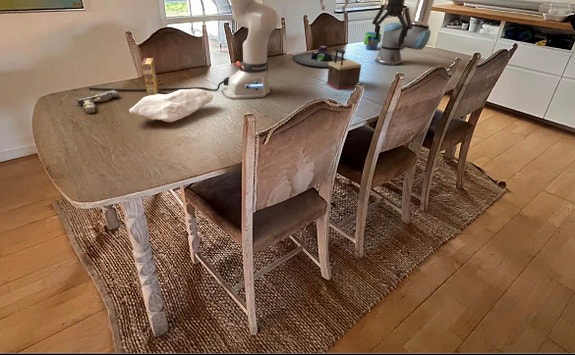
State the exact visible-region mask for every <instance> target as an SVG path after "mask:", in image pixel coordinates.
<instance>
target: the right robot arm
mask: <svg viewBox="0 0 575 355" xmlns="http://www.w3.org/2000/svg"><path fill="white" fill-rule="evenodd" d="M434 1H435V0H417V2H416V6H415V10H414V13H413V17H412V19H411V16H410V7H404V4H405V0H387V5H386V4H381V5H380V8H379V10H378V12H377V14H376V15H375V17H374V18H373V19H372V22H371V23H372V25H374V27H375V28H374V32H375V33H376V36H375V40H377V39H378V38H379V33H380V32H381V24H382V23H383V22H384V21H385V20H386V19H387V18H388V17H395V18H398V20H399V22H390V23H386V24H385V25H384V29H383V34H382V41H381V48H380V50H379V52H378V54H377V56H376V59H375V62H376V63H378V64H380V65H385V66H399V65H400V64H401V63H402V55H401V50H402V49H403V48H404V49H405V48H406V49H412V50H419V51H421V50H423V49H425V47H426V46H427V44H428V42H429V40H430V37H431V29H429V28H430V25H429V23H428V22H429V18H430V15H431V12H432V9H433V4H434ZM385 10H386V12H385V13H384V11H385ZM383 13H384V15H383V16H382V14H383ZM403 13H404V16H405V18H404V16H403ZM381 16H382V17H381Z"/></svg>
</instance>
